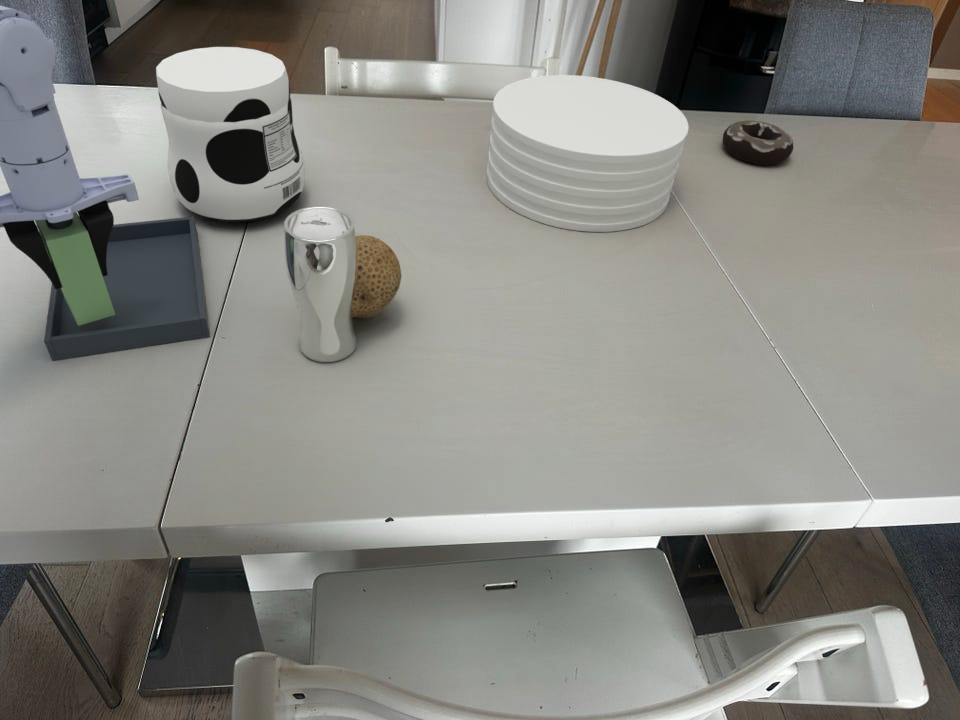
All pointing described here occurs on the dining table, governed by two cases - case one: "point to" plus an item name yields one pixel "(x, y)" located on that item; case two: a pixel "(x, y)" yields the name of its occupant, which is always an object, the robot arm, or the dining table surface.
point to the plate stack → (584, 152)
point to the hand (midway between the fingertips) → (79, 277)
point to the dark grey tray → (139, 293)
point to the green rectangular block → (76, 269)
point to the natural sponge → (375, 277)
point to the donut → (757, 142)
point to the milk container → (230, 133)
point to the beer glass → (323, 279)
